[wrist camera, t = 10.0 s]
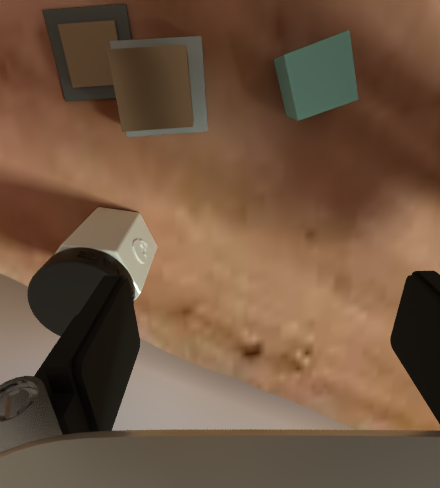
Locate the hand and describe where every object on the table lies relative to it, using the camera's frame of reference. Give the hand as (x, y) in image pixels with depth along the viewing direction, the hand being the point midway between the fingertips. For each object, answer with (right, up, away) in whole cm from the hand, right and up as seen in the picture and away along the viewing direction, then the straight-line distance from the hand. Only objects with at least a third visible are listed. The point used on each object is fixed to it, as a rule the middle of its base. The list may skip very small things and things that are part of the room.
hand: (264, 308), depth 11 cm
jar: (-13, +3, +26) cm, 29 cm away
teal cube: (+6, +18, +19) cm, 26 cm away
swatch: (-13, +19, +17) cm, 29 cm away
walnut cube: (-6, +15, +15) cm, 22 cm away
